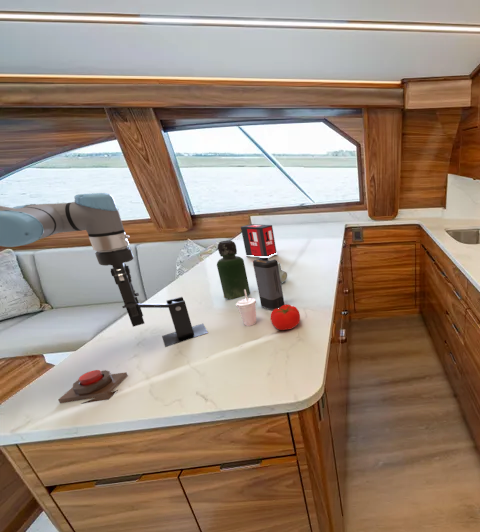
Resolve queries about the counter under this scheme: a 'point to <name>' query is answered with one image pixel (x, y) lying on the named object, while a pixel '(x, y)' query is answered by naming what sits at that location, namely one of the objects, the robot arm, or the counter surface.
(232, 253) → the green bottle
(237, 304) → the smoothie
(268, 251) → the cleaning product box
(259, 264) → the electronic device
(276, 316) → the tomato
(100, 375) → the red button
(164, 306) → the switch lever
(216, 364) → the counter surface
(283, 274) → the air freshener
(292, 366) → the counter surface
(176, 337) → the switch bracket
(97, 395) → the button block
